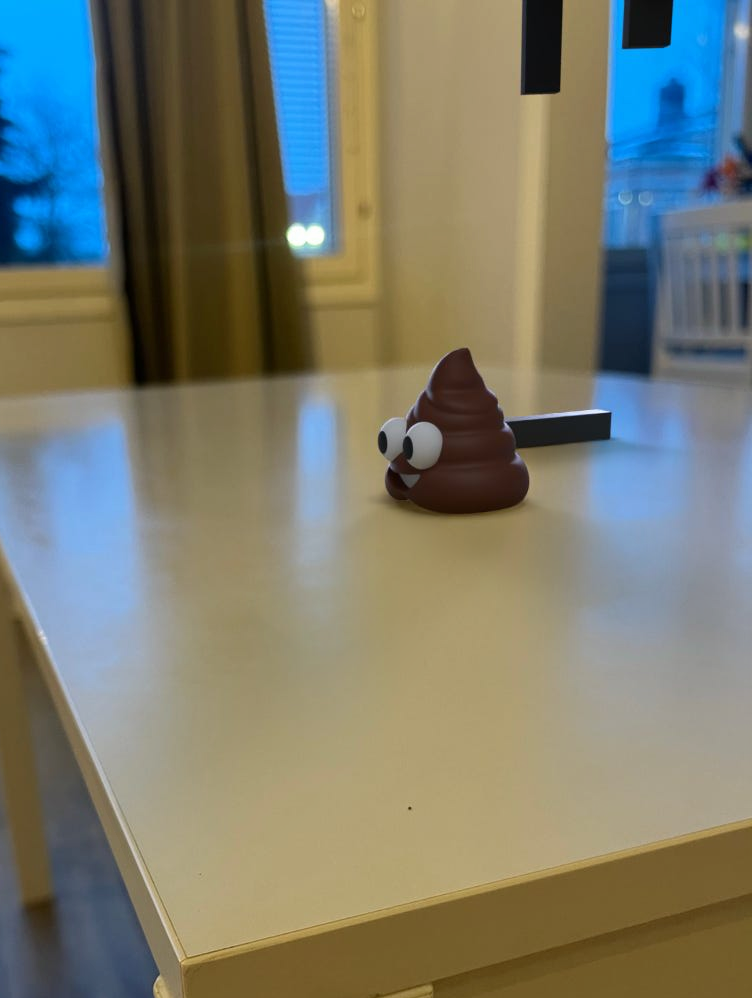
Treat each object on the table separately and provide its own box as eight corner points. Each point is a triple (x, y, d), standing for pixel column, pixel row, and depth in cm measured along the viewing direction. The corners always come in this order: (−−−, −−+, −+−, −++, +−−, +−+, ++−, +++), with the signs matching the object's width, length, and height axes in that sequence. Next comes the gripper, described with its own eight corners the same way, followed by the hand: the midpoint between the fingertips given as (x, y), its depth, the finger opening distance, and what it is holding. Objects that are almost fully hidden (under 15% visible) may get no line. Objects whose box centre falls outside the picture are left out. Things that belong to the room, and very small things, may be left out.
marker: (596, 435, 84) (597, 406, 83) (611, 439, 82) (612, 409, 81) (451, 449, 82) (451, 420, 81) (462, 453, 79) (462, 423, 79)
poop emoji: (559, 505, 60) (564, 343, 56) (436, 525, 57) (435, 356, 54) (466, 481, 68) (467, 340, 65) (356, 497, 65) (351, 351, 62)
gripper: (460, -234, 68) (460, 110, 75) (669, -512, 45) (641, 22, 52) (561, -231, 70) (551, 106, 77) (814, -500, 46) (767, 20, 53)
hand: (588, 73), depth 64 cm, fingers open, 13 cm apart
